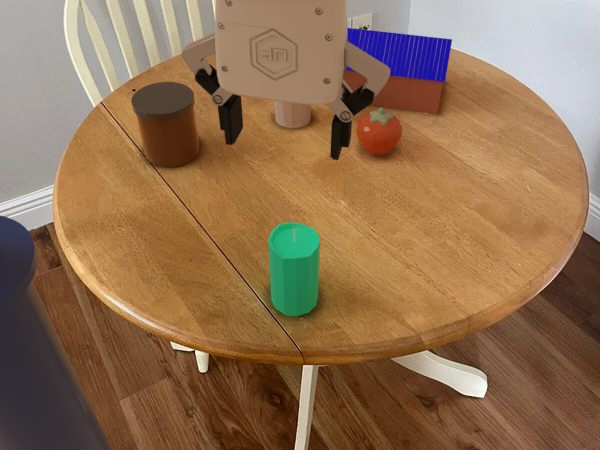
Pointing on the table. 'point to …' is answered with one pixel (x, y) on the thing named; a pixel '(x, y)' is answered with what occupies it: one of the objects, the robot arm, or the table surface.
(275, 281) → the candle
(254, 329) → the table surface
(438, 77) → the house
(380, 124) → the tomato
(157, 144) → the jar
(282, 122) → the cup
